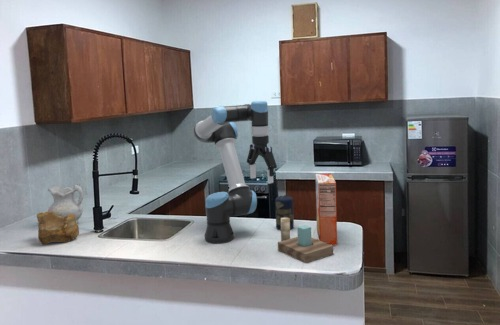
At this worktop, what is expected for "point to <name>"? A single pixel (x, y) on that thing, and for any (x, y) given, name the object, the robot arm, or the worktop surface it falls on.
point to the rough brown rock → (56, 227)
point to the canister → (284, 210)
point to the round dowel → (285, 229)
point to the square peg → (304, 236)
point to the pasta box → (326, 208)
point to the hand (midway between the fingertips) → (261, 180)
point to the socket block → (305, 249)
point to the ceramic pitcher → (66, 201)
